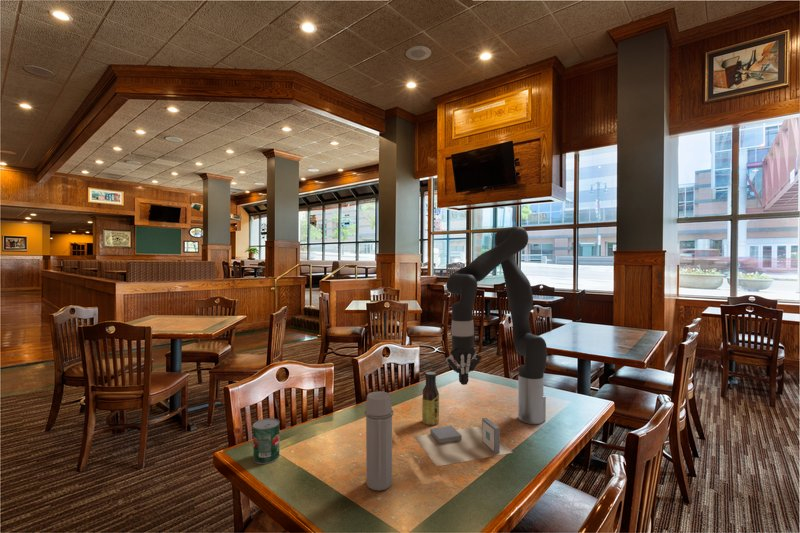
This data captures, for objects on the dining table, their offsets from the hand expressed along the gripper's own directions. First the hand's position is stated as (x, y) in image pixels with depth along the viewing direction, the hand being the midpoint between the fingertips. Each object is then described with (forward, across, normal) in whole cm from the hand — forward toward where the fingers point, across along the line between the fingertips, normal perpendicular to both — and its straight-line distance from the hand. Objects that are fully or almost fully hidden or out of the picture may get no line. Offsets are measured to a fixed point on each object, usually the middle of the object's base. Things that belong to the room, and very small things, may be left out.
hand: (463, 384), depth 129 cm
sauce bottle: (+20, +6, -16) cm, 26 cm away
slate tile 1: (+18, +2, -3) cm, 18 cm away
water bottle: (+20, +34, +16) cm, 42 cm away
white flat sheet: (+20, +3, +3) cm, 21 cm away
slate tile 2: (+19, -5, +8) cm, 21 cm away
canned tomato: (+19, +64, -10) cm, 68 cm away
